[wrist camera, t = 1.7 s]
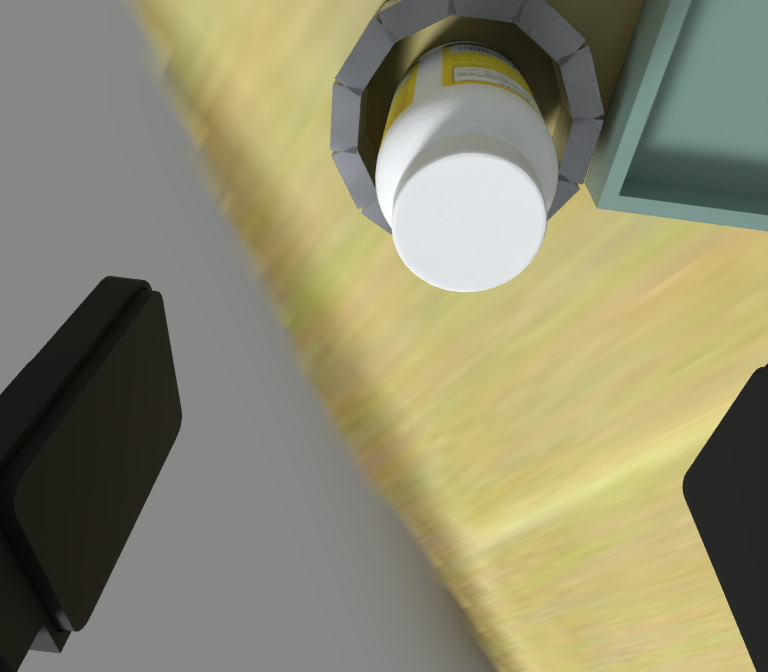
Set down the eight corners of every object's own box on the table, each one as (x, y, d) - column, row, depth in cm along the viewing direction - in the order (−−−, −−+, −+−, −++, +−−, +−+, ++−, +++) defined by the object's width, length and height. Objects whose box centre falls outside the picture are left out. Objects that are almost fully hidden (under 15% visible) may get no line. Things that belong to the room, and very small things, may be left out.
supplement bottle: (423, 200, 25) (410, 336, 17) (369, 77, 22) (323, 171, 14) (548, 151, 23) (598, 278, 15) (506, 10, 20) (541, 76, 12)
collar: (623, -9, 19) (642, 1, 17) (547, 238, 25) (555, 267, 23) (349, -44, 19) (338, -38, 17) (336, 210, 25) (326, 236, 23)
